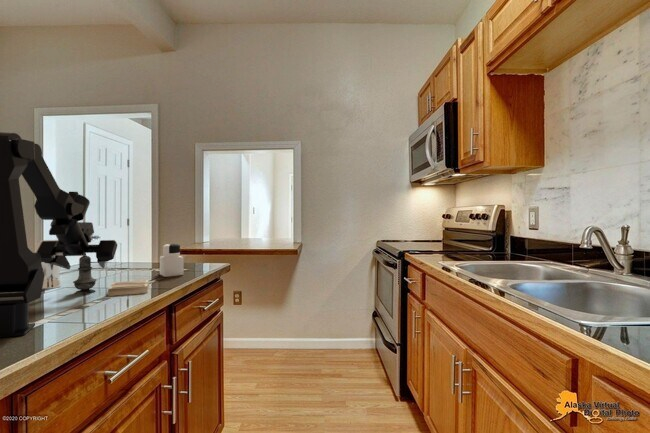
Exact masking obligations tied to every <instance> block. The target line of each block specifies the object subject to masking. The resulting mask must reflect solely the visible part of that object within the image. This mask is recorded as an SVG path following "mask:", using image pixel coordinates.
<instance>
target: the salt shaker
mask: <svg viewBox="0 0 650 433" xmlns="http://www.w3.org/2000/svg"><path fill="white" fill-rule="evenodd" d="M78 260H79V262H78V265H79V266H78V268H77V270H78V277H77V279H76V280H73V281H72V283H73V285H74V288H75V289H77V290H76V291H75V292H74V293H73V294H74V295H78V296H79V295H89V294H95V293H96V289H95V290H94V289H92V288H94V286H96V283H97V281H98V280H97V278H94V277H93V276H92V269H93V267H92V262H91V261H92V258H91V257H90V256H88V255H87V253H84V256H79V259H78Z"/></svg>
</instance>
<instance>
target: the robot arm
mask: <svg viewBox="0 0 650 433" xmlns="http://www.w3.org/2000/svg"><path fill="white" fill-rule="evenodd" d="M21 176H22V178H23V179H24V181H25V182H26V184H27V185H28V187H29V188H30V190H31V192H32V193H33V195H34V197H35V199H36V200H35V203H34V205H33V207H34V209H35V212H36V215H37V216H38V217H39V219H41V220H43V221H51V222H50V229H49V230H48V235H50V236H56V238H57V240H59V241H43V240H42V241H43V242H42V243H41V244H40V246H39V248H38V250H37V252H36V253H35V252H33V251H32V250H31V249H30V248H29V247H28V240H27V233H26V224H25V218H24V210H23V203H22V202H23V201H22V194H21V187H20V177H21ZM90 204H91V203H90V200H89V198H87V197H86V196H84V195H82V194H79V192H78V191H68V192H66V191H65V190H63V189H61V188H60V186H59V185H58V183H57V181H56V179H55V178H54V176H53V173H52V171H51V170H50V168H49V166H48V165H47V162H46V160H45V159H44V157H43V151H42V148H41V146H40V145H39V144H38V143H35V141H32V140H27V139H23V138H22V137H21V136H20V134H18V133H15V132H6V131H3V132H1V131H0V338H7V337H8V338H9V337H15V336H16V337H17V336H24V335H26V334H27V333H28V332H29V331H31V330H32V329H33V328H34V327H35V326H36V323H35V322H34V323H33V322H31V323H29V322H30V321H29V317H30V316H29V315H30V314H29V313H30V311H29V309H30V308H29V304H30V303H31V302H34V301H36V300H39V299H40V298H42V292H43V289H42V287H43V282H44V271H43V267H42V264H41V262H44V263H49V264H52V265H56V266H59V267H61V268H63V269H65V270H70V269H71V265H70V262H69V260H68V258H67V257H82V256H84V253H86V254H87V253H88V254H89V253H90V254H92V253H93V254H94V253H95V258H96V259H97V260H96V262H97V263H98V265H99V266H100V268H102V269H105V267H106V262H109V261H112V260H114V258H115V256H116V251H117V248H118V243H117V241H116V240H115V239H107V240H106V239H103V240H101V239H100V240H99V242H98V244H90V243H91V242H92V240H93V239H92V237H91V236H92V235H94V233H95V231H94V229H95V228H94V223H93V222H88V221H87V222H85V221H83V220H84V218H85V216H86V214H87V211H88V208H89V206H90ZM81 221H83V222H81Z"/></svg>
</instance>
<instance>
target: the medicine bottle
mask: <svg viewBox="0 0 650 433" xmlns="http://www.w3.org/2000/svg"><path fill="white" fill-rule="evenodd" d="M184 262H185V261H184V256H181V245H179V243H177V244H176V243H167V244H164V245H163V246H162V255H161V256H159V275H160V276H162V277H164V278H166V277H178V276H183V275H184Z"/></svg>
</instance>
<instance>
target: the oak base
mask: <svg viewBox="0 0 650 433" xmlns="http://www.w3.org/2000/svg"><path fill="white" fill-rule="evenodd" d="M149 281H150V279H149V280H146V279H144V280H130V281H129V280H128V281H118V282H117V281H116V282H112V283H111V284H110V286H109V287H108V289H107V296H108V297H112V296H114V297H115V296H124V295H136V294H138V295H139V294H147V293H148V291H149V287H150V282H149Z"/></svg>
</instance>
